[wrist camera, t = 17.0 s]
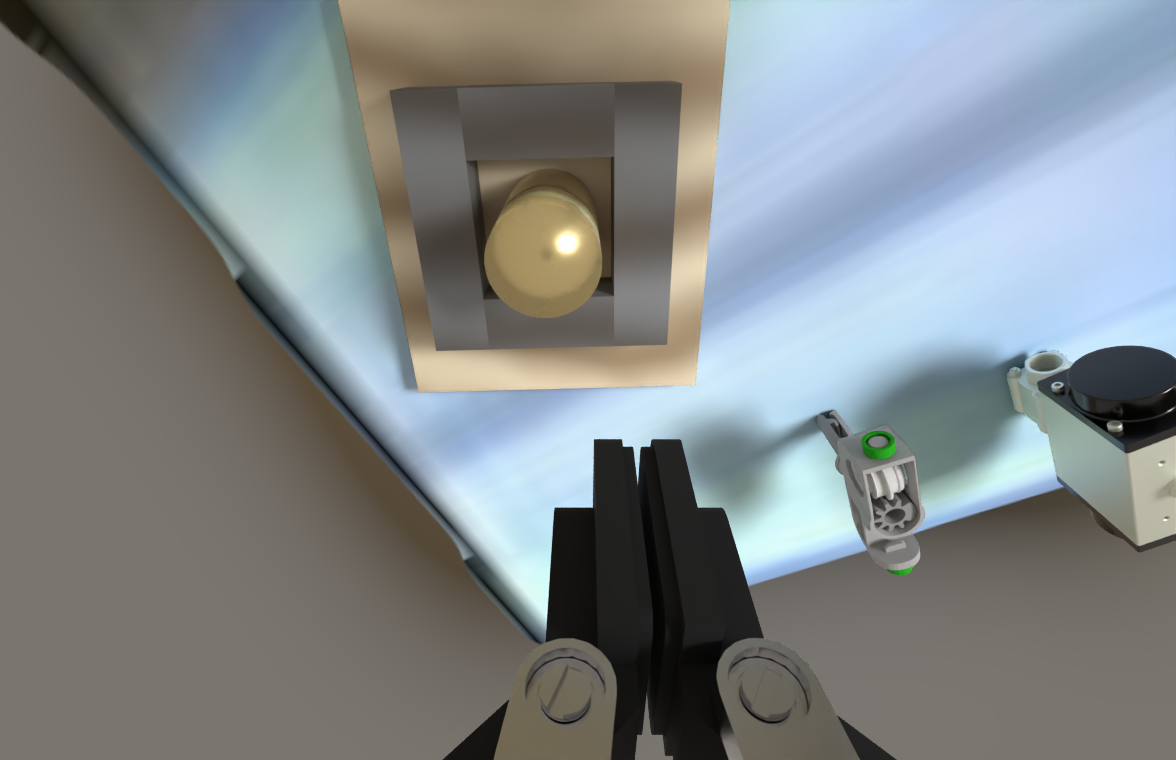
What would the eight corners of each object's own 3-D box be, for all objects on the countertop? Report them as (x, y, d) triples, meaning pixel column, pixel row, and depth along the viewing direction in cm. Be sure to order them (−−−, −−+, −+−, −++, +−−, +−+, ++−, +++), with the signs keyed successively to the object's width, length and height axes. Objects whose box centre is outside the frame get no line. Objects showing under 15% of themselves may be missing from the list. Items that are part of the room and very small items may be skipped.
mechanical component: (819, 476, 42) (881, 584, 33) (792, 367, 37) (857, 461, 29) (858, 464, 42) (932, 571, 33) (836, 352, 37) (916, 443, 28)
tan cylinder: (503, 167, 29) (480, 202, 22) (598, 169, 29) (605, 205, 22) (507, 259, 32) (487, 317, 25) (594, 261, 32) (599, 319, 25)
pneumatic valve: (1012, 451, 41) (1158, 583, 31) (980, 329, 36) (1143, 439, 26) (1092, 419, 40) (1273, 546, 30) (1072, 287, 35) (1282, 385, 24)
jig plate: (344, -21, 26) (304, -35, 22) (725, -30, 26) (751, -45, 22) (424, 380, 37) (406, 418, 33) (691, 373, 37) (704, 410, 33)
